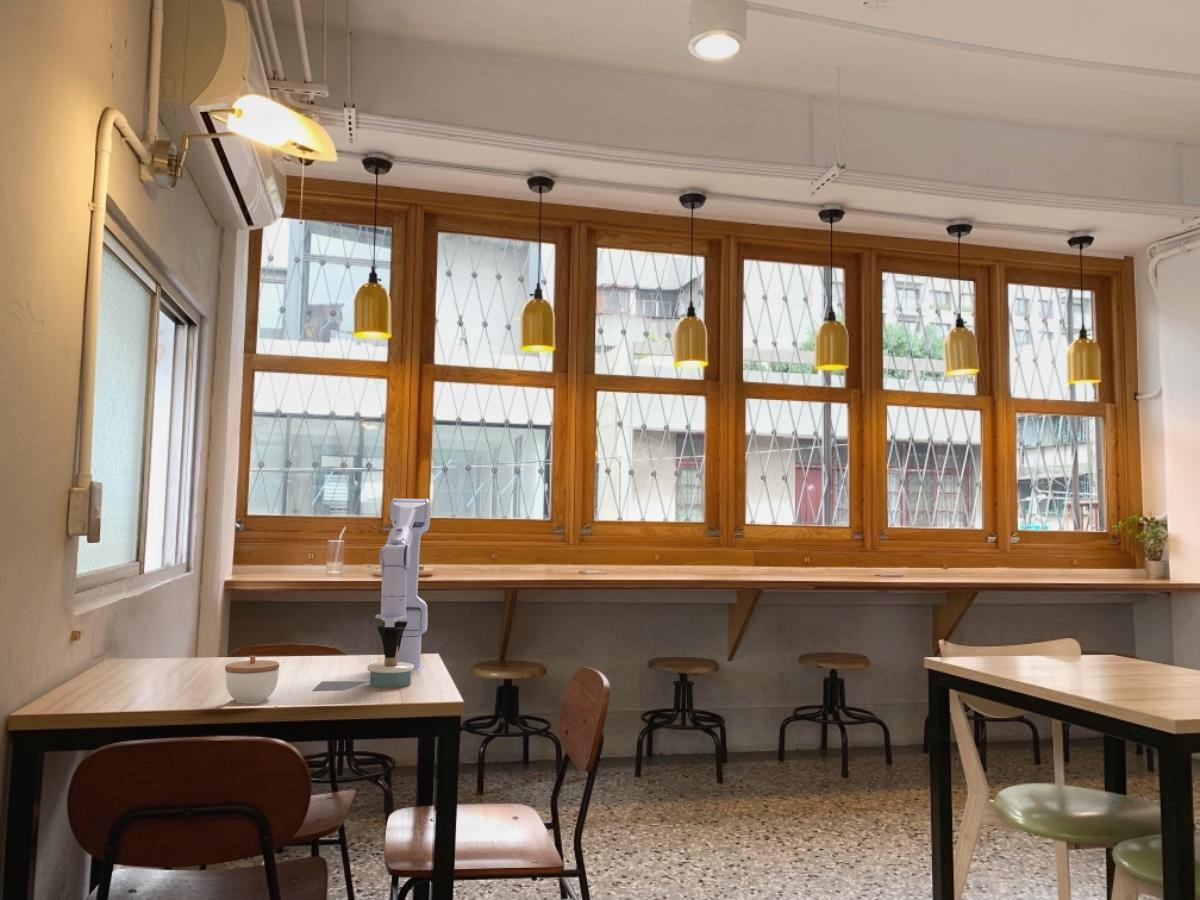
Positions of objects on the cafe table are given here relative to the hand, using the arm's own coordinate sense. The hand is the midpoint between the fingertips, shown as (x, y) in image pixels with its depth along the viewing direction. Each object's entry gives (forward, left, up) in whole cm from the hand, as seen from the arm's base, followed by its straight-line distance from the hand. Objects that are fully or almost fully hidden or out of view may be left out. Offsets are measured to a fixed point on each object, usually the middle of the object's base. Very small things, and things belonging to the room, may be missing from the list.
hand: (391, 655), depth 212 cm
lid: (0, 0, -3) cm, 3 cm away
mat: (+1, -11, -7) cm, 13 cm away
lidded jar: (+16, -27, -7) cm, 32 cm away
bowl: (0, 0, -7) cm, 7 cm away
